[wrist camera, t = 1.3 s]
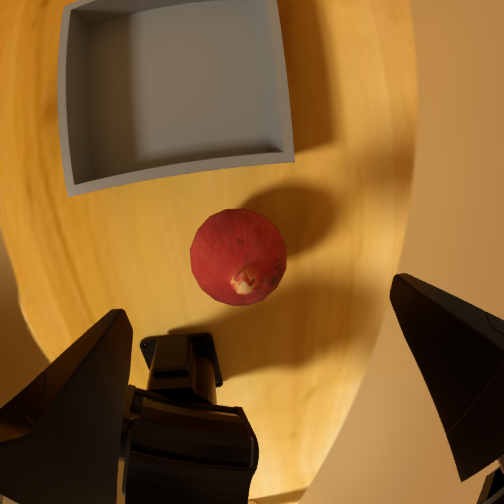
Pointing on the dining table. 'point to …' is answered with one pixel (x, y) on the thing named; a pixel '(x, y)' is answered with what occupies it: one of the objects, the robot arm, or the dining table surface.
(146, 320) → the dining table surface
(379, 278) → the dining table surface
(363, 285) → the dining table surface
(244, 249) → the onion
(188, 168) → the bin
